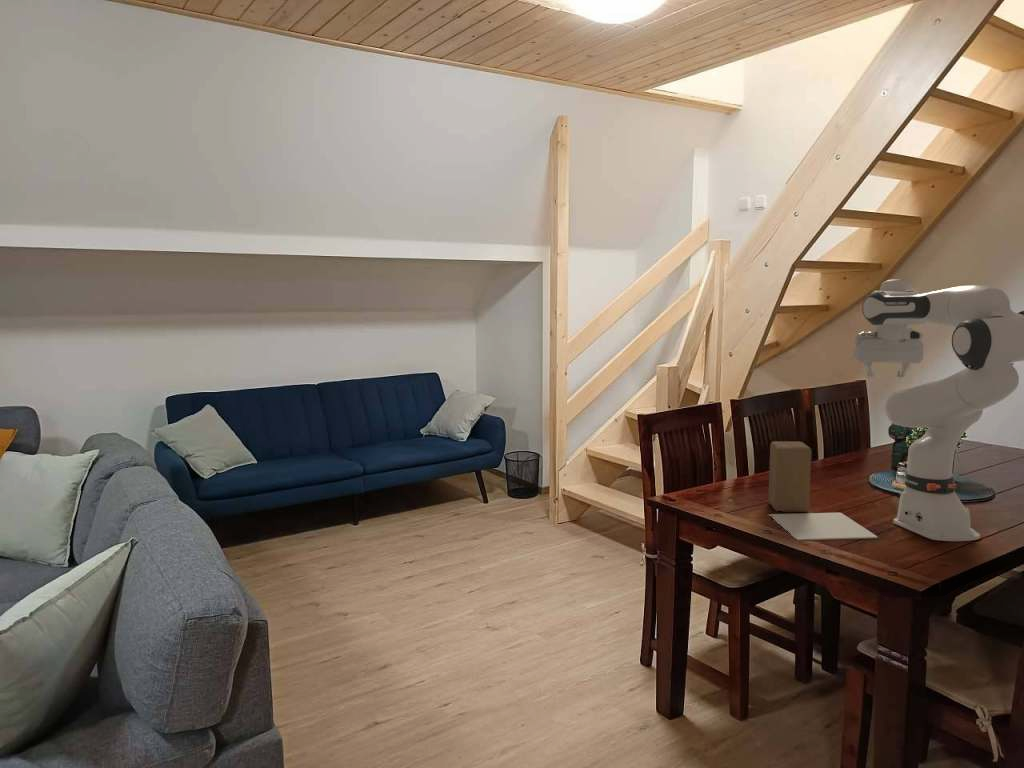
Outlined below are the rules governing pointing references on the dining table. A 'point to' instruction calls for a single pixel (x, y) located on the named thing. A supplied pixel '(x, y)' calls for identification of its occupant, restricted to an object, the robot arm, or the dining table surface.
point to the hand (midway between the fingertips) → (885, 376)
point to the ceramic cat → (899, 443)
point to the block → (789, 476)
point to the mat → (821, 526)
